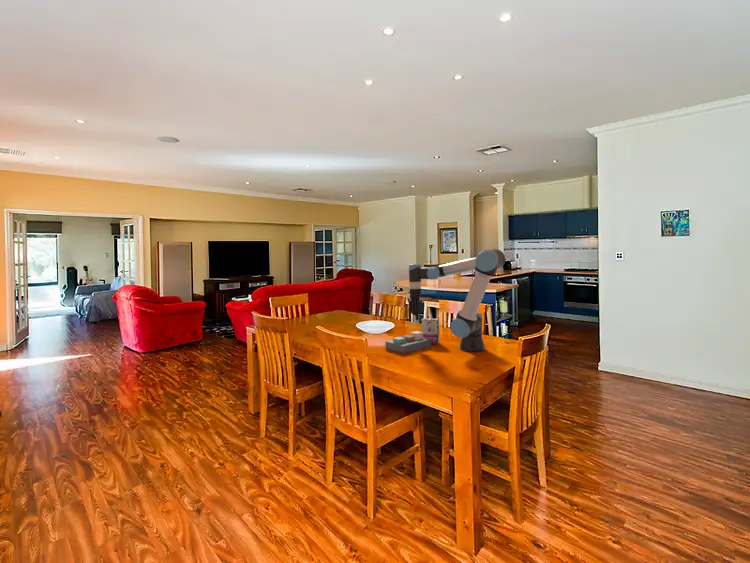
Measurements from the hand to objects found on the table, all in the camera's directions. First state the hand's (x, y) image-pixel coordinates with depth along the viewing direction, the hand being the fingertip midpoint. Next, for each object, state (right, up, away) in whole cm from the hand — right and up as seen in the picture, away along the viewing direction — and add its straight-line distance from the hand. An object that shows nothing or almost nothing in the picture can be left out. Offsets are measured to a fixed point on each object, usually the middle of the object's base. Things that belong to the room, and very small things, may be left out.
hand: (416, 324), depth 258 cm
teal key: (-11, -12, -7) cm, 18 cm away
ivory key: (+1, -9, +2) cm, 10 cm away
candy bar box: (+10, -13, +9) cm, 19 cm away
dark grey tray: (-5, -14, -2) cm, 15 cm away
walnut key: (-5, -11, -3) cm, 13 cm away
